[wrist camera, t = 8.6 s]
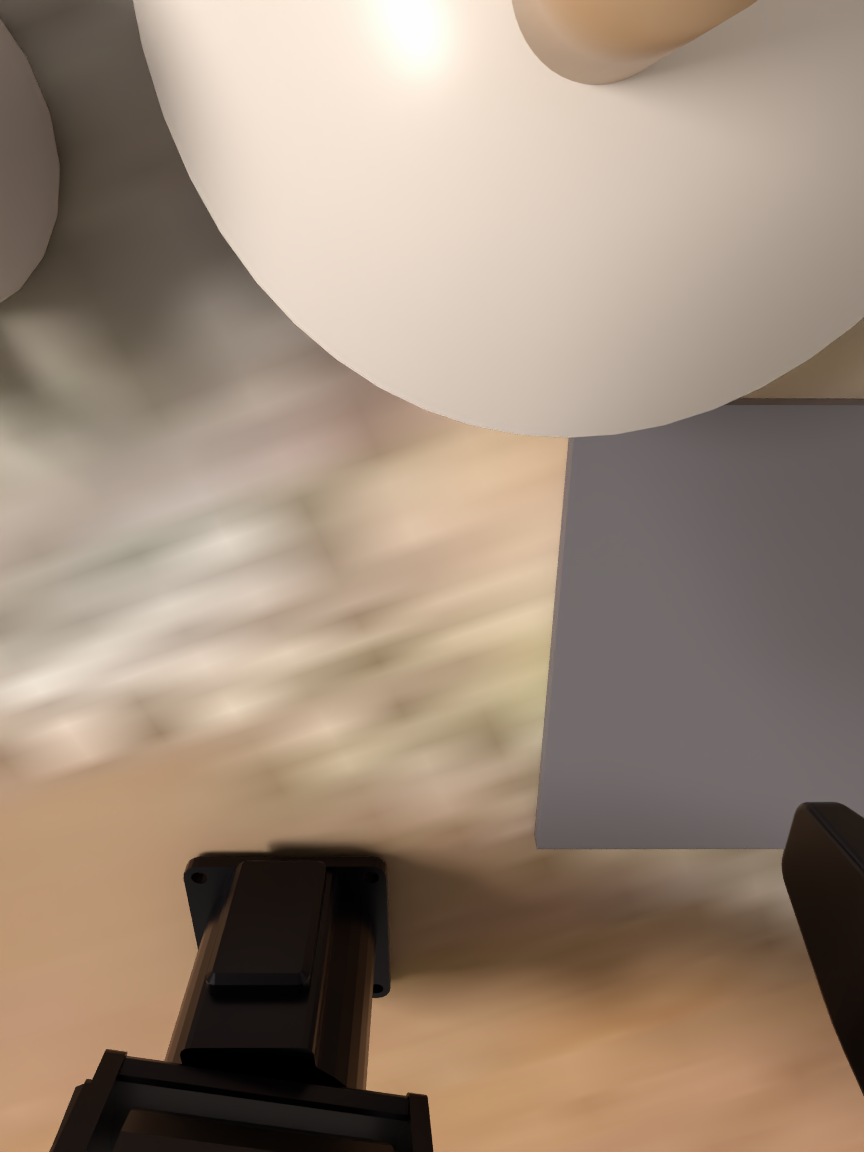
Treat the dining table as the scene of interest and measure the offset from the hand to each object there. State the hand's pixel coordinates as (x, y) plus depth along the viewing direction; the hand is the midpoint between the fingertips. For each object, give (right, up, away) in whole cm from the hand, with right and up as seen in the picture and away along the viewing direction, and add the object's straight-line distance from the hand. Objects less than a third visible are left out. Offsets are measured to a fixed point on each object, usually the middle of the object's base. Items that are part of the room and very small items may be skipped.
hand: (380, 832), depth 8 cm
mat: (+11, +1, +13) cm, 17 cm away
